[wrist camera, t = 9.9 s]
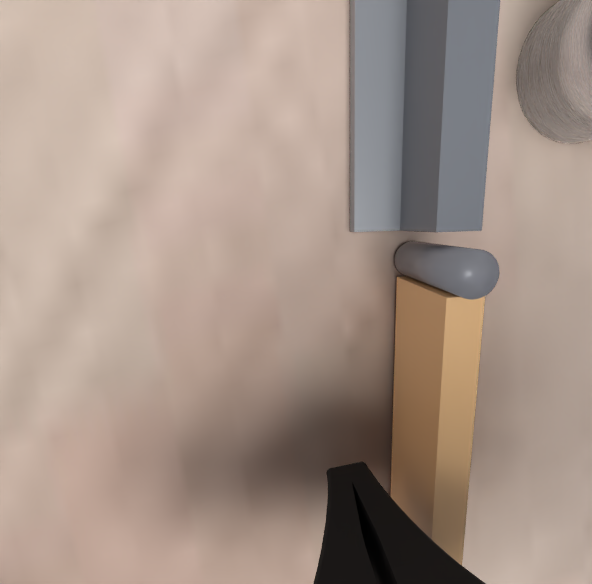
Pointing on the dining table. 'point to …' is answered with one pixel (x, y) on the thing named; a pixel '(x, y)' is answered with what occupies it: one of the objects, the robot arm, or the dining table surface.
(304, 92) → the dining table surface
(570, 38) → the steel cylinder
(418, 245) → the gate
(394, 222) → the housing
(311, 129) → the dining table surface
